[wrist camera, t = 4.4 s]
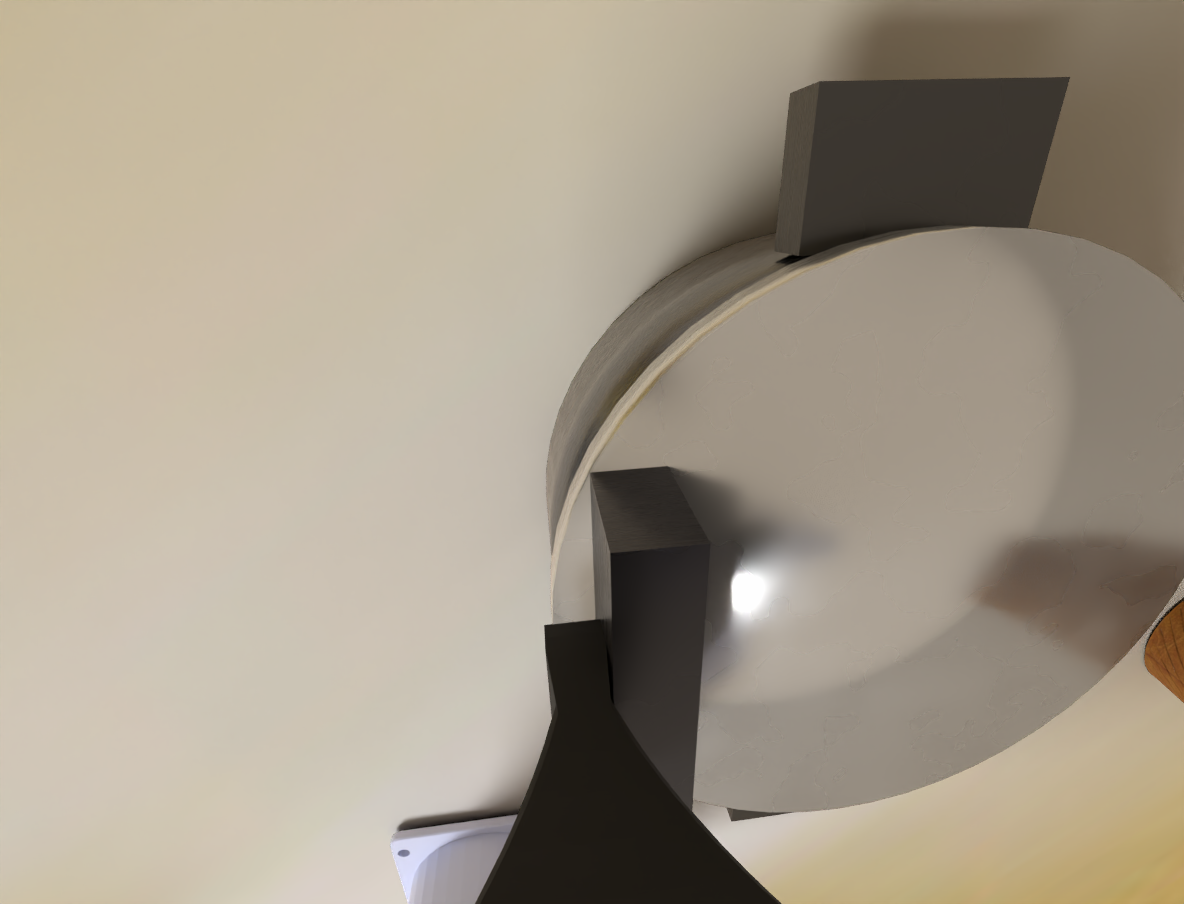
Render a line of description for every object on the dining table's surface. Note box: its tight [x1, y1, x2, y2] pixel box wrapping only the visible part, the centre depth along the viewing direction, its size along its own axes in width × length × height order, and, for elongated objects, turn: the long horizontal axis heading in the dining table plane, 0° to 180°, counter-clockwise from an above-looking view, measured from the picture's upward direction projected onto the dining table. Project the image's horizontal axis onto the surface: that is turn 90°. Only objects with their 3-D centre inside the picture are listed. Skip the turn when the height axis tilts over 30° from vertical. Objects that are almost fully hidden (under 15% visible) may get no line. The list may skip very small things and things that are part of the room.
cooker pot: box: [546, 77, 1070, 821], centre depth 17 cm, size 22×16×5 cm
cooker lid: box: [551, 225, 1184, 812], centre depth 13 cm, size 17×17×4 cm
